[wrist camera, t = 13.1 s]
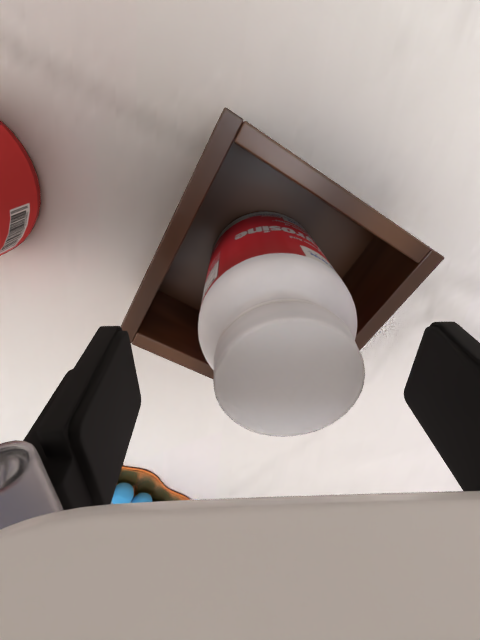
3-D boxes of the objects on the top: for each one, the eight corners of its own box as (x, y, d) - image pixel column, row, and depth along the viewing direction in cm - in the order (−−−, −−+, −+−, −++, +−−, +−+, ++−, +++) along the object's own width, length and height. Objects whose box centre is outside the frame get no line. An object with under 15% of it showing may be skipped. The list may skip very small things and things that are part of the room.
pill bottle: (332, 230, 19) (435, 333, 9) (288, 319, 22) (333, 468, 12) (228, 192, 18) (224, 264, 8) (197, 290, 21) (166, 430, 11)
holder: (143, 288, 21) (115, 337, 16) (227, 114, 17) (224, 106, 12) (285, 357, 24) (299, 417, 19) (390, 225, 20) (445, 257, 15)
